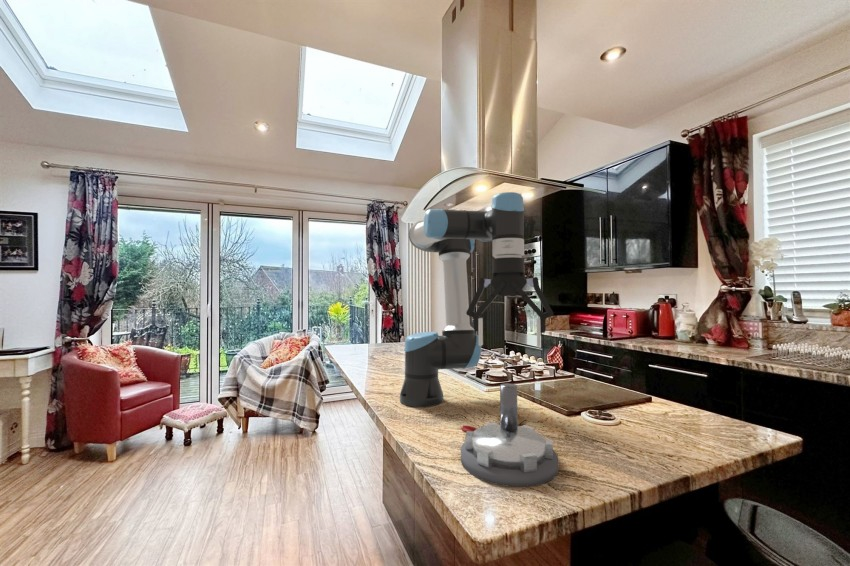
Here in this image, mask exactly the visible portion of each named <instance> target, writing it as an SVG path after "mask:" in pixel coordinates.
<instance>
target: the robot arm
mask: <svg viewBox="0 0 850 566" xmlns="http://www.w3.org/2000/svg"><path fill="white" fill-rule="evenodd" d="M490 207H491V209H490V210H488V211H485V210H483V211H481V210H460V209H443V208H436V209H435V208H432V209H431V208H430V209H427V210H426V212H424V216H423V220H418V221H417V222H415V223H414V224H413V225H411V227H410V229H409V230H408V238H409V242H410V244H411V245H412V246H413V247H415V249H418V250H420V251H423V252H427V253H438V259H439V260H441V262H443V263H442V264H443V266H442V267H443V284H444V286H443V287H444V310H445V327H444V328H443V329H442V331H441V333H442V334H441V335H439V333H438V332H437V331H424V332H423V331H422V332H417V333H413V334H410V335H407V336H406V337H405V340H404V349H403V352H404V379H403V383H402V387H401V389H400V393H399V402H400V403H401V404H402V405H405V406H409V407H417V408H424V407H426V408H428V407H434V406H438V405H440V404H442V403H443V402H444V392H443V390H442V386H441V383H440V382H441V381H440V379H439V370H454V369H455V370H456V369H462V370H463V369H469V368H474V367H476V366H477V365H478V363H479V361H480V358H481V355H482V346H483V345H484V331H483V330H484V321H483V320H484V319H483V318H484V317H481V315H482V314H483V313H484V312H485V311H486V309H487V308H488V307H489V306H490V304H492V302H493V301H494V300H495V299H496V297H498V296H501V297H507V296H510V297H516V296H518V295H519V296H521V298H522V299H523V300H524V301H525V302H526V304H527V305H529V307H530V308H531V309H532V310H533V312H535V313H536V315H537V316H538V317H539V318H536V348H540V349H541V348H542V343H541V342H542V341H541V339H542V336H541V334H545V333H546V328H547V327H546V324H547V323H546V321H547V319H548V318H551V317H554V314H555V313H554V311H553V309H552V308H551V306H550V304H549V302H548V300H547V298H546V296H545V294H544V293H543V291H542V289H541V287H540V285H539V284H540V282H539V278H538V277H537V276H534V277H531V278H526V277H525V276H526V275H525V259H524V258H523V257H524V256H525V237H524V236H525V234H524V233H525V232H524V231H525V212H524V211H525V208H524V197H523V195H522V194H520V193H519V192H513V191H510V192H509V191H507V192H506V191H505V192H499V193H496V194H495V195H493V196H492V198H491V205H490ZM476 240H478V241H481V242H485V243H486V242H491V243H492V244H491V247H492V250H491V252H492V253H491V254H492V257H493V260H492V261H491V262H492V266H491V267H492V275H491V279H490V278H489V279H488V278H484V277H481V278H479V281H478V287H477V289H476V292H475V294H474V295H473V298H472V300H471V302H470V304H469V288H468V287H469V286H468V273H467V271H468V269H467V260H468V259H469V258H470V256H471V253H473V252H474V250H475V243H476ZM490 284H491V286H492V288H493V289H494V290H493V291H492V292H491V294H490V295H489V296H488V297H487V298H486V300H484V302H483V303H482V305H481V306H480V307H479V308H478V309H477V311H475V309H476V307H477V305H478V303H479V301H480V299H481V297H482V295H483V293H484V290H485V288H487V287H488V286H489V285H490ZM527 284H529V286H530V287H531V288H533V290H534V292H535V294H536V295H537V297H538V299H539V301H540V303H541V304H542V305H541V306H542V307H543V308H544V310H545V312H543V311H542V310H541V309H540V308H539V307H538V306H537V304H536V303H535V302H534V300H532V298H531V297H530V296H529V295H528V294H527V293H526V292H525V291H524V290H523V289H524V288H525V286H526V285H527ZM470 318H473V327H472V326H471V323H470V321H471V320H470ZM475 332H478V334H476V333H475Z"/></svg>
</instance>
